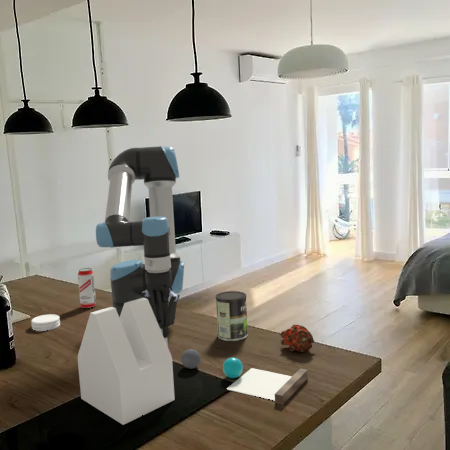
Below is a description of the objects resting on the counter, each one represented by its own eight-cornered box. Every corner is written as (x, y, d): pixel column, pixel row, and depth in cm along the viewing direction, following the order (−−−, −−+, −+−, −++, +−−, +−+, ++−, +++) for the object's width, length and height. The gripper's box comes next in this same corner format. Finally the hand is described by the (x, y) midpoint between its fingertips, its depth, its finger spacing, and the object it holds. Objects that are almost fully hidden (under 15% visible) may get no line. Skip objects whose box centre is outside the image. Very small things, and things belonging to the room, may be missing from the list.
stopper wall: (300, 377, 137) (300, 368, 137) (307, 378, 136) (307, 369, 135) (275, 403, 123) (274, 393, 123) (282, 405, 122) (282, 395, 122)
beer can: (94, 309, 206) (90, 270, 203) (78, 309, 206) (75, 271, 204) (98, 304, 212) (94, 267, 210) (83, 305, 212) (79, 267, 210)
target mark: (251, 368, 144) (251, 367, 144) (297, 378, 136) (297, 377, 136) (226, 389, 132) (226, 388, 132) (274, 401, 125) (274, 400, 124)
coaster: (54, 331, 182) (53, 322, 182) (27, 332, 182) (26, 323, 182) (64, 322, 192) (63, 313, 192) (38, 323, 192) (37, 314, 192)
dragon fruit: (312, 361, 150) (283, 356, 159) (324, 338, 155) (295, 334, 164) (298, 343, 147) (269, 339, 156) (311, 320, 151) (281, 317, 160)
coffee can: (250, 330, 174) (248, 290, 172) (245, 341, 164) (243, 299, 162) (220, 329, 176) (219, 290, 174) (214, 340, 166) (212, 299, 164)
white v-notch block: (174, 400, 128) (168, 305, 124) (123, 425, 117) (114, 321, 113) (131, 378, 141) (124, 291, 137) (81, 399, 130) (72, 305, 127)
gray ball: (189, 362, 150) (188, 344, 149) (204, 365, 147) (203, 347, 146) (178, 369, 145) (177, 351, 144) (193, 373, 142) (192, 354, 141)
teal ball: (229, 371, 142) (228, 352, 142) (246, 375, 140) (246, 356, 139) (219, 379, 138) (218, 360, 137) (236, 383, 135) (236, 363, 134)
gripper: (132, 271, 147) (138, 348, 150) (167, 274, 140) (173, 355, 143) (149, 265, 153) (154, 340, 157) (183, 268, 147) (188, 346, 150)
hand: (163, 347), depth 150 cm, fingers closed
